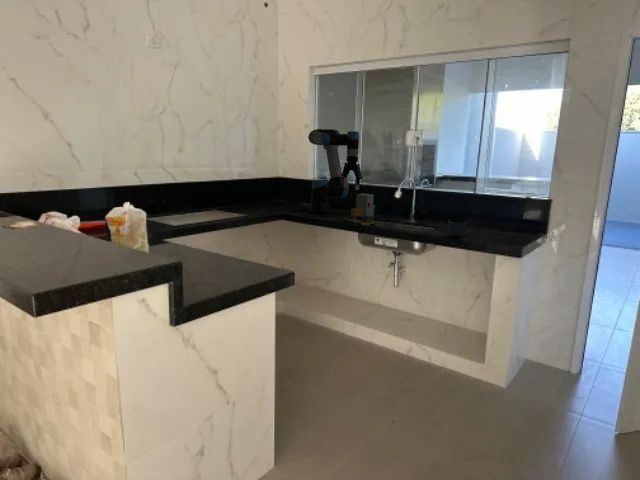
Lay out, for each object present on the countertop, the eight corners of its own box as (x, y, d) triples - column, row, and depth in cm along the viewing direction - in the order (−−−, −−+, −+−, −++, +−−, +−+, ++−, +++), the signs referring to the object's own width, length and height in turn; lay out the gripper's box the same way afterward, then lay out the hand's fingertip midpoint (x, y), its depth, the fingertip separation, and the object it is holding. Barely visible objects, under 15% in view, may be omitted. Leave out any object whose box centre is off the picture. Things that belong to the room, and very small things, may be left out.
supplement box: (366, 217, 309) (367, 195, 305) (355, 215, 314) (356, 194, 310) (373, 215, 316) (374, 194, 312) (362, 214, 321) (363, 193, 317)
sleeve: (350, 217, 296) (351, 208, 294) (358, 216, 299) (358, 208, 297) (354, 218, 292) (354, 209, 291) (361, 217, 296) (362, 208, 294)
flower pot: (446, 234, 261) (448, 219, 259) (462, 235, 260) (464, 219, 258) (449, 237, 252) (450, 222, 250) (465, 238, 251) (467, 222, 249)
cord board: (344, 220, 297) (344, 212, 296) (359, 218, 303) (359, 211, 302) (363, 225, 280) (363, 217, 279) (378, 224, 286) (378, 216, 285)
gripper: (336, 154, 301) (335, 186, 306) (359, 157, 280) (357, 191, 286) (346, 154, 305) (344, 186, 310) (368, 156, 284) (367, 190, 290)
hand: (351, 188), depth 298 cm, fingers open, 12 cm apart
